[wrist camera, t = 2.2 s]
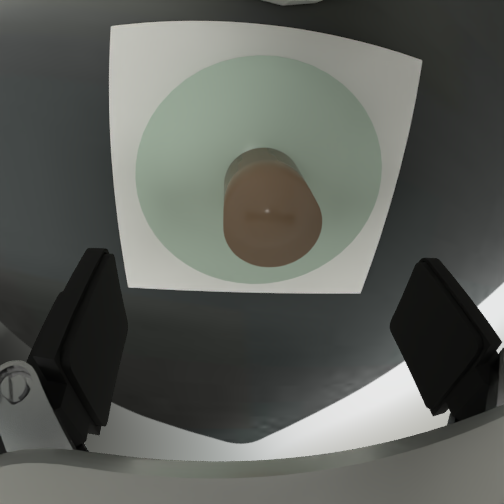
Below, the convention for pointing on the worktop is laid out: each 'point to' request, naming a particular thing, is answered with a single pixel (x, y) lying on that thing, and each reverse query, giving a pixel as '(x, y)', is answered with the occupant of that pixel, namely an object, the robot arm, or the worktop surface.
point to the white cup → (291, 2)
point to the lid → (258, 169)
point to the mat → (225, 48)
